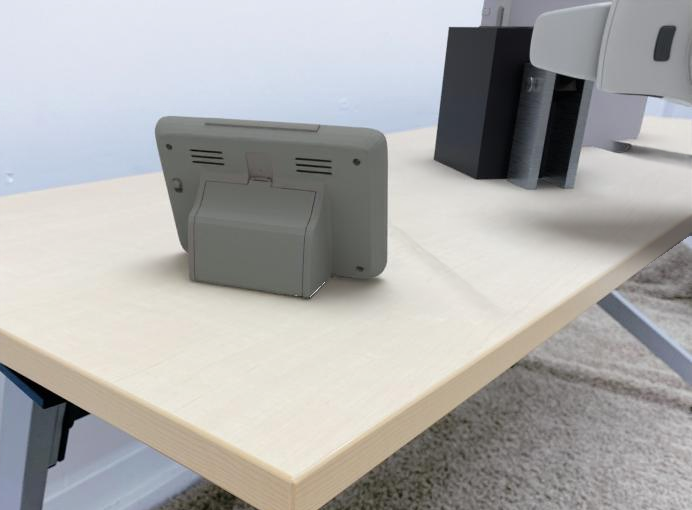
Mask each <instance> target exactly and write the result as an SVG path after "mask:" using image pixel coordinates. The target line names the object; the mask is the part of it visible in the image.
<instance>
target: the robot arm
mask: <svg viewBox="0 0 692 510" xmlns="http://www.w3.org/2000/svg"><path fill="white" fill-rule="evenodd" d="M530 61H531V63H532V65H533V66H535V67H537V68H540V69H544V70H547V71H551V72H554V73H558V74H562V75H566V76H570V77H574V78H579V79H585V80H591V81H596V89H597V90H599V91H601V92H608V93H615V94H623V95H640V96H648V98H656V99H659V100H663V101H665V102H668V103H672V104H674V105H678V106H682V107H683V106H684V107H687V108H690V109H692V0H612V1H611V2H603V3H595V4H589V5H583V6H577V7H571V8H566V9H560V10H555V11H550V12H546V13H543V14H541V15H540V16H539V17H538V18H537V20H536V22H535V25H534V29H533V34H532V39H531V47H530Z"/></svg>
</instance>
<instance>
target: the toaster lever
mask: <svg viewBox="0 0 692 510" xmlns="http://www.w3.org/2000/svg"><path fill="white" fill-rule="evenodd" d="M576 79H577V78H574V77H570V76H566V75H562V74H558V73H556V78H555V84H554V90H553V95H552V101H551V102H561V101H562V100H563V99H565V98H566V97H568V96H569V95H570V94H572V93H573V92H575V91H576V90H577V88H576Z"/></svg>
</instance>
